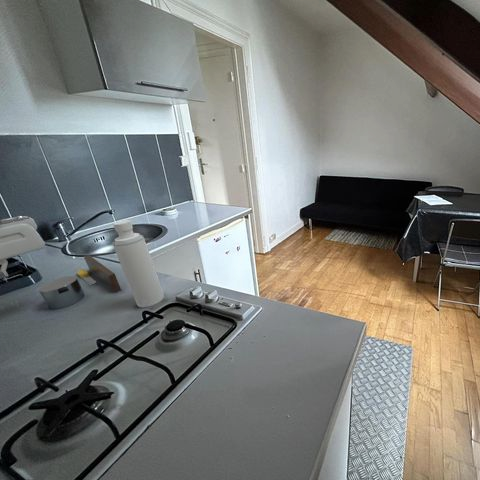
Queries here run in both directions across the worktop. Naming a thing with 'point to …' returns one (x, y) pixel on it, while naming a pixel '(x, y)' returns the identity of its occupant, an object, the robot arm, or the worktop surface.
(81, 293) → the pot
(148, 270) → the white bottle
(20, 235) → the robot arm
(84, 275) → the knife
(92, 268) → the backboard
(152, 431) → the worktop surface
